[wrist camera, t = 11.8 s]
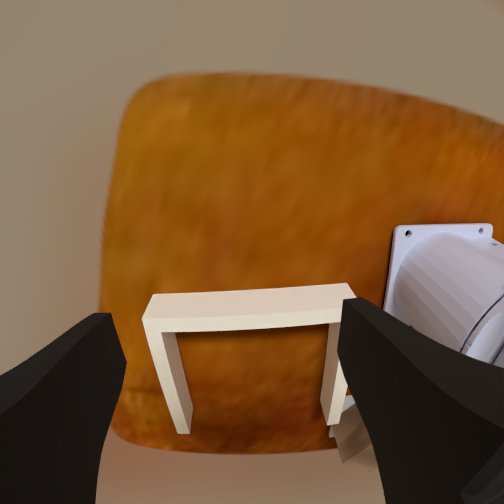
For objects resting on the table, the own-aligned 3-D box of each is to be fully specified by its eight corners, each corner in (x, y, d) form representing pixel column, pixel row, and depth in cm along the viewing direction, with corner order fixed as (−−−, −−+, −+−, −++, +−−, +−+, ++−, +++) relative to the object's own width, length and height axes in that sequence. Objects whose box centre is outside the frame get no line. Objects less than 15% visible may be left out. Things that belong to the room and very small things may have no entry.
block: (368, 393, 24) (385, 435, 20) (392, 407, 26) (409, 445, 21) (330, 420, 26) (342, 462, 21) (357, 432, 27) (369, 471, 22)
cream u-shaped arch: (346, 282, 21) (361, 305, 18) (330, 398, 25) (338, 423, 22) (153, 294, 20) (141, 318, 18) (181, 407, 25) (177, 433, 22)
